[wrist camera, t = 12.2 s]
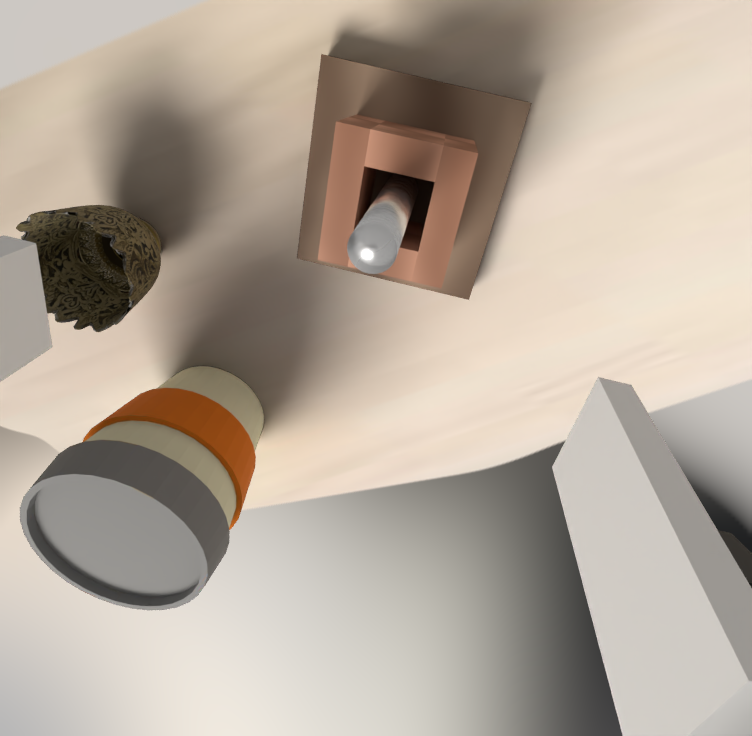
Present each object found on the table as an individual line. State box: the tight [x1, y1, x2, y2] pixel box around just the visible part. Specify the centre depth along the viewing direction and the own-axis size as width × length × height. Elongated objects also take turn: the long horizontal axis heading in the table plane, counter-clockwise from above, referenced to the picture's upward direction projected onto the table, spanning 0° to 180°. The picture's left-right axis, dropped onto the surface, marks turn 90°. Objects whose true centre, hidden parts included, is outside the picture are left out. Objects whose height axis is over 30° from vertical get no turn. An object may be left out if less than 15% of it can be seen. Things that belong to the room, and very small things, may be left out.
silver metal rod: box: [347, 173, 418, 274], centre depth 25 cm, size 2×2×13 cm
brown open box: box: [318, 114, 478, 288], centre depth 28 cm, size 7×7×6 cm
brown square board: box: [297, 54, 531, 300], centre depth 32 cm, size 12×12×2 cm
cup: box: [16, 205, 161, 332], centre depth 33 cm, size 8×7×8 cm
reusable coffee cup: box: [20, 366, 264, 610], centre depth 37 cm, size 12×12×15 cm
